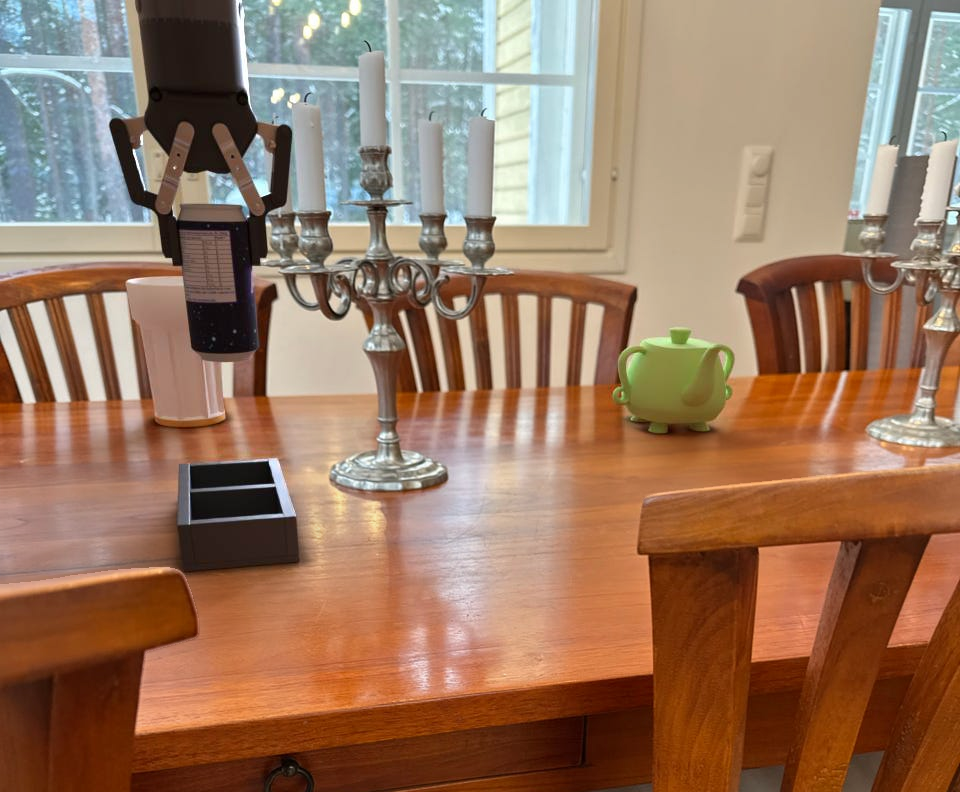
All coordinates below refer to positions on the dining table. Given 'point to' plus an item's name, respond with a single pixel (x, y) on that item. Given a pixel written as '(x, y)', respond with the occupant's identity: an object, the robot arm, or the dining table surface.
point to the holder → (235, 515)
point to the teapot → (674, 381)
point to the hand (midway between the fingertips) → (216, 264)
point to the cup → (174, 355)
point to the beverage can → (218, 281)
